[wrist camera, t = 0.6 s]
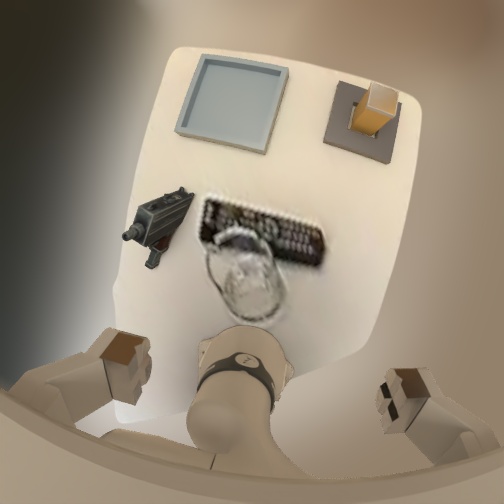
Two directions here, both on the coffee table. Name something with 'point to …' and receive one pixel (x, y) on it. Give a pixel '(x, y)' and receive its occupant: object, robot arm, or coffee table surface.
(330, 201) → the coffee table surface
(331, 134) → the block
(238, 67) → the parts tray
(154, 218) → the gun
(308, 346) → the coffee table surface
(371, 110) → the block
